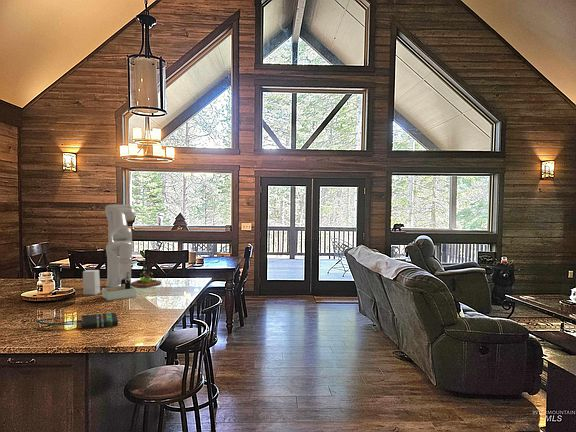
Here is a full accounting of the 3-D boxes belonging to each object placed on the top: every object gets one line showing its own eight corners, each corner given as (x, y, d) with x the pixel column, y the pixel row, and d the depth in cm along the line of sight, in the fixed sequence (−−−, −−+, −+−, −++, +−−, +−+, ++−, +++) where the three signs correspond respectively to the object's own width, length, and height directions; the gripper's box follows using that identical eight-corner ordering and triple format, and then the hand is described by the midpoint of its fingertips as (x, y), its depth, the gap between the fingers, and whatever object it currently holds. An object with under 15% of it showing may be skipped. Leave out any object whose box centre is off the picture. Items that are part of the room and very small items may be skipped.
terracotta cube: (107, 296, 260) (107, 289, 260) (115, 295, 263) (115, 288, 263) (109, 298, 256) (109, 290, 256) (117, 297, 259) (117, 289, 259)
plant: (125, 287, 296) (125, 271, 296) (143, 282, 314) (143, 267, 314) (148, 289, 289) (148, 273, 289) (165, 284, 308) (165, 269, 307)
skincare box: (100, 293, 273) (100, 269, 273) (94, 295, 267) (94, 271, 266) (88, 292, 274) (88, 269, 274) (82, 294, 268) (82, 271, 267)
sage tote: (102, 296, 262) (102, 288, 262) (129, 293, 273) (129, 285, 273) (107, 300, 252) (107, 291, 252) (136, 297, 262) (136, 288, 262)
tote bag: (118, 319, 199) (34, 326, 184) (118, 329, 200) (34, 336, 184) (115, 309, 218) (39, 315, 203) (115, 318, 218) (39, 324, 203)
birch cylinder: (120, 295, 265) (120, 284, 265) (128, 294, 268) (128, 283, 268) (122, 296, 261) (122, 285, 261) (130, 295, 265) (130, 284, 264)
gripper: (115, 259, 269) (115, 286, 269) (123, 263, 255) (123, 291, 255) (127, 259, 273) (127, 285, 274) (135, 262, 260) (135, 289, 260)
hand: (125, 287), depth 265 cm, fingers open, 8 cm apart
